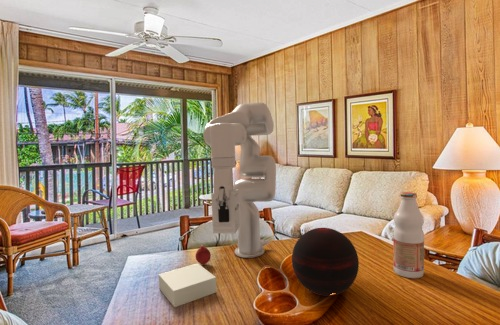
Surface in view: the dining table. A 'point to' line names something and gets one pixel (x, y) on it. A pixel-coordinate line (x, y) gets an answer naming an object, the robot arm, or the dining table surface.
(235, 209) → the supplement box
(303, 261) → the decorative orb
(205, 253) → the onion
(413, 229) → the fruit juice
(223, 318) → the dining table surface
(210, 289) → the block
